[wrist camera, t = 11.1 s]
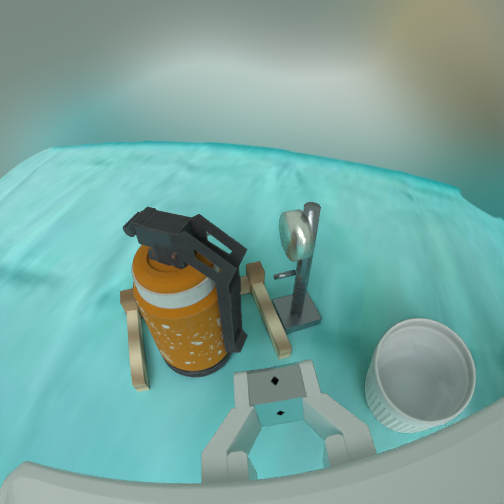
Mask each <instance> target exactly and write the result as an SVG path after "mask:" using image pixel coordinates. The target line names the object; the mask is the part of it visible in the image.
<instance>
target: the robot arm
mask: <svg viewBox="0 0 504 504" xmlns="http://www.w3.org/2000/svg"><path fill="white" fill-rule="evenodd" d="M233 377H234V397H235V408H234V409H231V410H230V412H229V413H228V415H227V416H226V418H225V419H224V421H223V422H222V424H221V425H220V427H219V428H218V430H217V431H216V433H215V434H214V436H213V437H212V439H211V440H210V442H209V443H208V445H207V446H206V447H205V449H204V450H203V452H202V483H194V484H183V483H154V482H140V481H129V480H120V479H112V478H104V477H98V476H92V475H86V474H81V473H75V472H71V471H66V470H61V469H57V468H53V467H49V466H45V465H41V464H38V463H34V462H30V461H25V462H23V463H22V464H20V465H19V466H18V467H17V468H15V469H14V470H13V471H12V472H11V473H10V474H9V475H8V476H7V477H6V478H5V480H4V482H3V484H2V486H1V489H0V504H504V396H503V397H502V398H500V399H498V400H497V401H495V402H493V403H492V404H490V405H488V406H486V407H485V408H483V409H481V410H479V411H477V412H475V413H474V414H472V415H470V416H468V417H466V418H464V419H462V420H460V421H458V422H456V423H454V424H452V425H450V426H448V427H445V428H443V429H441V430H439V431H437V432H434V433H432V434H430V435H427V436H425V437H423V438H420V439H418V440H415V441H413V442H410V443H407V444H405V445H402V446H399V447H397V448H394V449H391V450H388V451H385V452H382V453H379V454H377V453H376V450H375V447H374V444H373V440H372V437H371V434H370V431H369V428H368V425H366V424H365V423H364V422H362V421H361V420H360V419H358V418H357V417H356V416H354V415H353V414H352V413H350V412H349V411H348V410H347V409H345V408H344V407H343V406H341V405H340V404H339V403H337V402H336V401H335V400H334V399H332V398H331V397H330V396H329V395H327V394H326V393H321V390H320V387H319V383H318V379H317V376H316V372H315V369H314V365H313V361H312V360H311V359H310V360H305V361H301V362H294V363H289V364H284V365H279V366H274V367H271V368H264V369H257V370H250V371H242V372H235V373H234V376H233ZM300 420H304V421H305V422H306V423H307V424H308V425H309V426H310V427H311V428H312V429H313V430H314V431H315V432H316V433H317V434H318V435H319V436H320V437H321V438H322V439H323V440H324V441H325V443H324V453H323V465H324V469H319V470H315V471H310V472H305V473H299V474H294V475H288V476H281V477H274V478H267V479H259V480H258V479H257V472H256V470H255V468H254V466H253V465H252V463H251V461H250V459H249V457H248V454H249V452H250V450H251V448H252V446H253V444H254V442H255V440H256V438H257V437H258V435H259V433H260V431H261V429H262V428H261V427H265V426H271V425H276V424H282V422H283V423H288V422H294V421H300Z"/></svg>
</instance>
